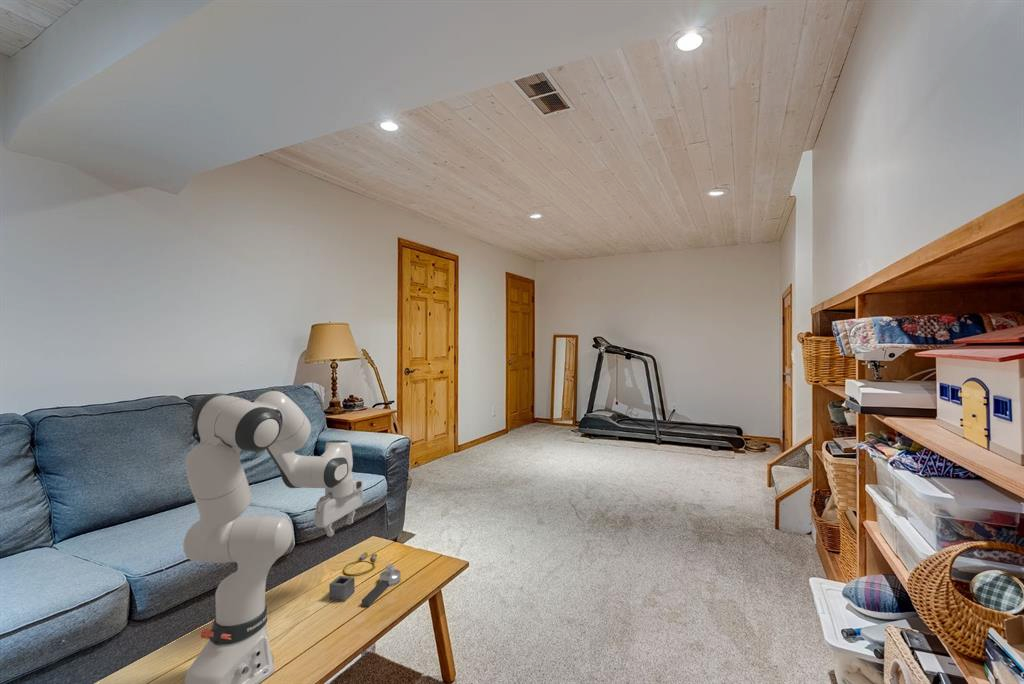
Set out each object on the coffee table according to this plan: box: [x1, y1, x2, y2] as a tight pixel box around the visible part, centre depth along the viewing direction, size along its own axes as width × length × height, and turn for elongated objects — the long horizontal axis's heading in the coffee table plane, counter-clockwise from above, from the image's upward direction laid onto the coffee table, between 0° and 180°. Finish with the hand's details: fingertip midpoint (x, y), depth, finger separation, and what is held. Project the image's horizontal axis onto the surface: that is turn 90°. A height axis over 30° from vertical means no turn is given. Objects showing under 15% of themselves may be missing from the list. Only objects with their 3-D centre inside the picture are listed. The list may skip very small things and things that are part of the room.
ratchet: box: [361, 563, 401, 608], centre depth 156 cm, size 20×7×6 cm, turn 166°
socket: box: [328, 575, 355, 603], centre depth 153 cm, size 6×6×5 cm
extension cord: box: [342, 552, 378, 577], centre depth 174 cm, size 12×16×2 cm
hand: (340, 529), depth 153 cm, fingers open, 8 cm apart
